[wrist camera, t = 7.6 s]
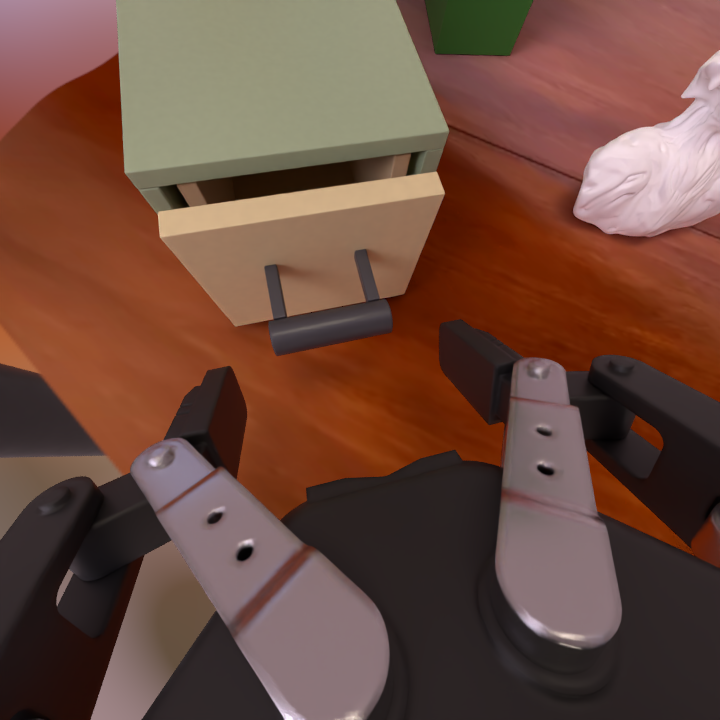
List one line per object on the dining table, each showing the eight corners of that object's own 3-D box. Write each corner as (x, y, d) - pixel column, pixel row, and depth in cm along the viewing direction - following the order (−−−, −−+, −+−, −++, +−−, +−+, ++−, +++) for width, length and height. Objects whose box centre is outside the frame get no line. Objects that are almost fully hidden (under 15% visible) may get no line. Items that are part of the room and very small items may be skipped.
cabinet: (401, 272, 23) (450, 130, 13) (226, 304, 21) (123, 172, 11) (356, 124, 27) (365, -76, 17) (204, 143, 25) (112, -65, 15)
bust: (663, 229, 28) (767, 59, 22) (748, 256, 22) (928, 29, 16) (534, 219, 28) (601, 41, 21) (585, 243, 22) (700, 4, 15)
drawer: (422, 354, 20) (480, 285, 12) (244, 392, 19) (168, 346, 11) (358, 145, 25) (367, -11, 17) (211, 163, 24) (140, 4, 15)
